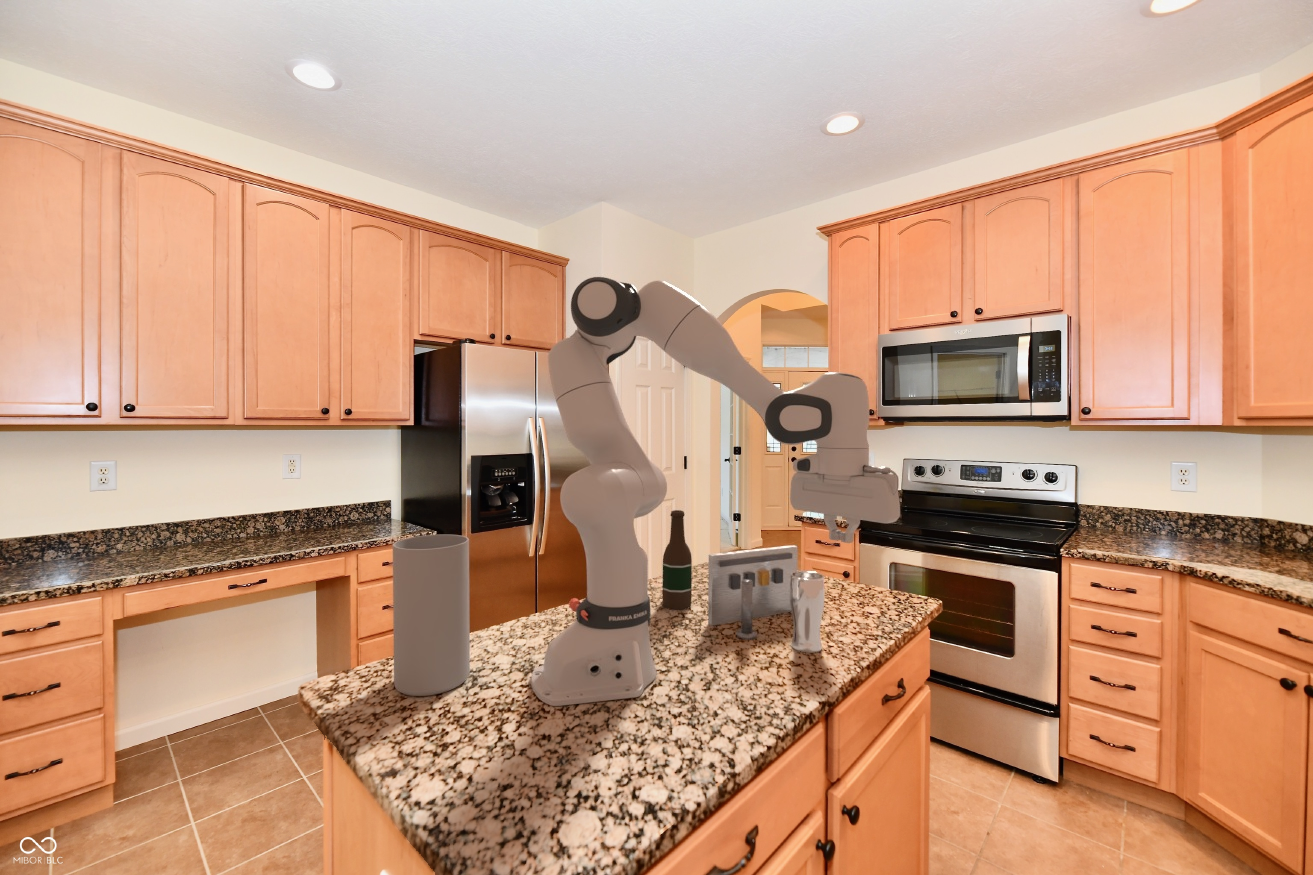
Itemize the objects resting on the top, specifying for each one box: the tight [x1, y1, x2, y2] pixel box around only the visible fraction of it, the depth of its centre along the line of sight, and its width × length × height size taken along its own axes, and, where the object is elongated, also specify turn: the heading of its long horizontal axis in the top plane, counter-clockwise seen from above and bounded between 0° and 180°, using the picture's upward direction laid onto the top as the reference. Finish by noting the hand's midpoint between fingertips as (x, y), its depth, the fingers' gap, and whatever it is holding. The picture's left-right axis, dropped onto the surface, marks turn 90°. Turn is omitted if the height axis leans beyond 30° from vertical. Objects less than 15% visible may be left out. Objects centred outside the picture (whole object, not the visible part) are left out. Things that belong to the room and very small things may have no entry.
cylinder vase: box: [392, 534, 471, 697], centre depth 98 cm, size 12×12×25 cm
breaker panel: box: [707, 544, 799, 627], centre depth 130 cm, size 24×3×16 cm, turn 114°
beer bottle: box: [662, 509, 693, 611], centre depth 139 cm, size 8×8×24 cm
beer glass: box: [790, 570, 826, 654], centre depth 113 cm, size 7×7×15 cm
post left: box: [736, 579, 758, 641], centre depth 119 cm, size 4×4×12 cm
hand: (841, 541), depth 98 cm, fingers closed
